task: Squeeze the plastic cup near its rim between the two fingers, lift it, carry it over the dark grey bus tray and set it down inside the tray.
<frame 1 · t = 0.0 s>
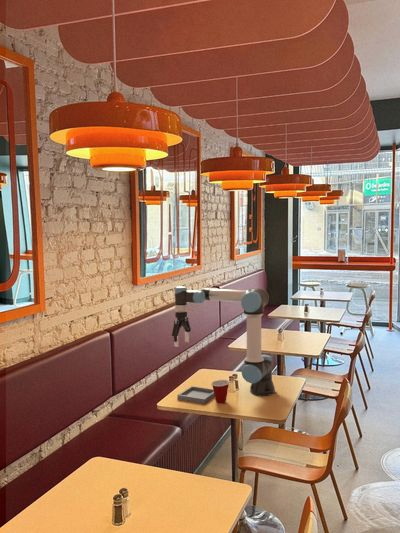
hand: (181, 344, 313), 28 cm above the table, fingers open, 13 cm apart
plastic cup: (220, 402, 288), on the table
bus tray: (197, 396, 297), on the table
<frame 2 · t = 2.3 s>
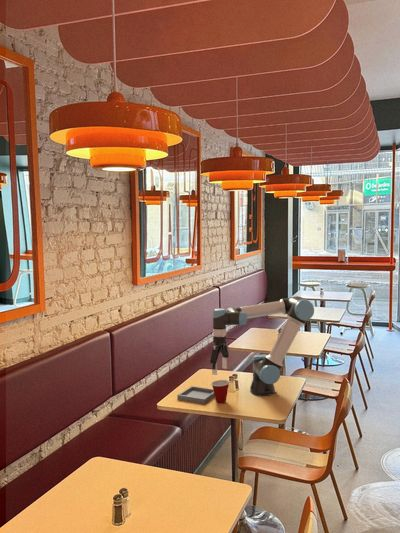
hand: (219, 371, 286), 18 cm above the table, fingers open, 13 cm apart
nothing on the table moved.
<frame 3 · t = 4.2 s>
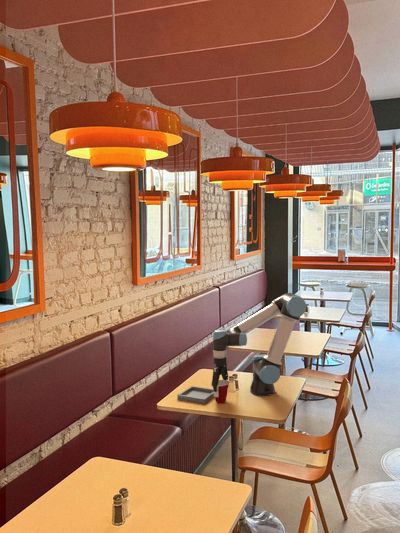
hand: (220, 393, 288), 5 cm above the table, fingers closed on plastic cup, 11 cm apart
plastic cup: (220, 402, 288), on the table, touching gripper
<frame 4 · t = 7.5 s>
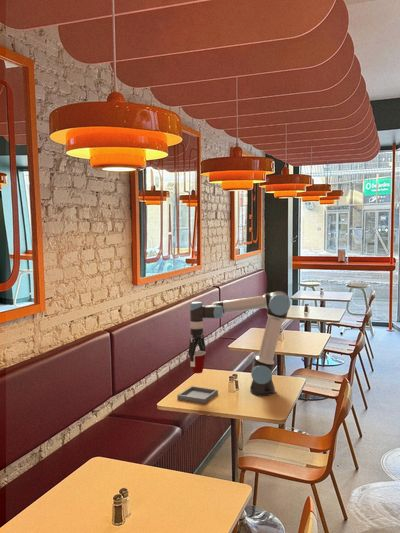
hand: (197, 364, 295), 20 cm above the table, fingers closed on plastic cup, 11 cm apart
plastic cup: (197, 372, 296), point 15 cm above the table, touching gripper
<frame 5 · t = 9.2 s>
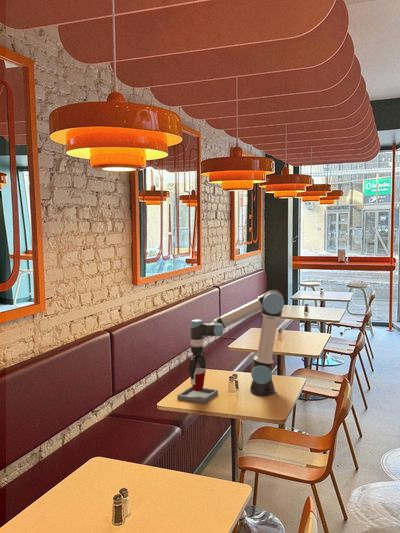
hand: (197, 381, 296), 9 cm above the table, fingers closed on plastic cup, 11 cm apart
plastic cup: (197, 389, 297), point 4 cm above the table, touching gripper
when the fingers open (8 cm above the table, at t = 10.6 s): plastic cup drops 2 cm, resting on bus tray.
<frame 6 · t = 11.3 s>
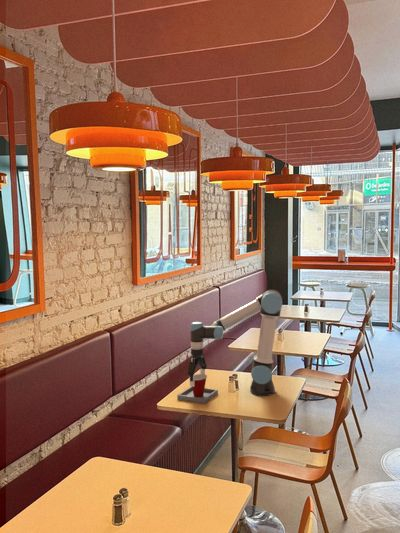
hand: (197, 382, 296), 9 cm above the table, fingers open, 13 cm apart
plastic cup: (198, 395, 297), point 1 cm above the table, touching bus tray
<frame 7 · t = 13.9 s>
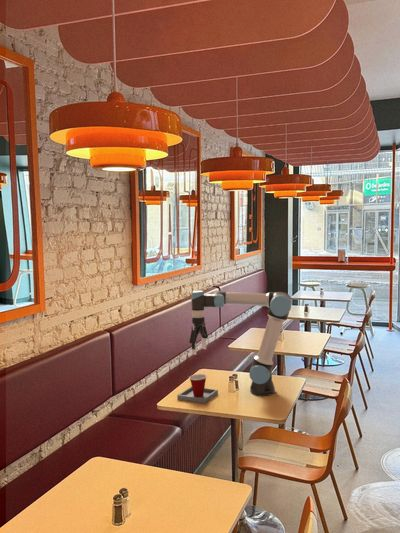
hand: (199, 351, 297), 27 cm above the table, fingers open, 13 cm apart
nothing on the table moved.
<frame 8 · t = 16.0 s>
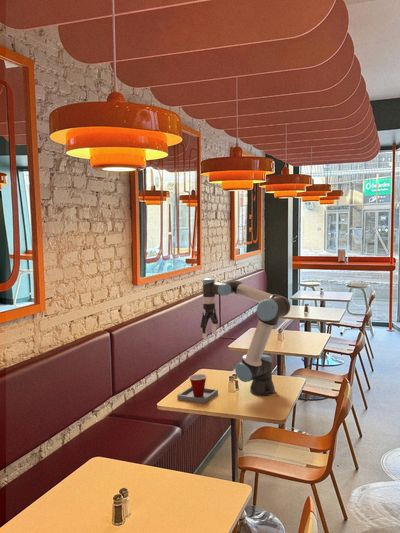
hand: (209, 336, 314), 33 cm above the table, fingers open, 13 cm apart
nothing on the table moved.
at the end: plastic cup inside the target area on the bus tray (0.2 cm from its centre), point 0.6 cm above the bus tray's base; plastic cup tilted 0°; plastic cup touching bus tray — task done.
